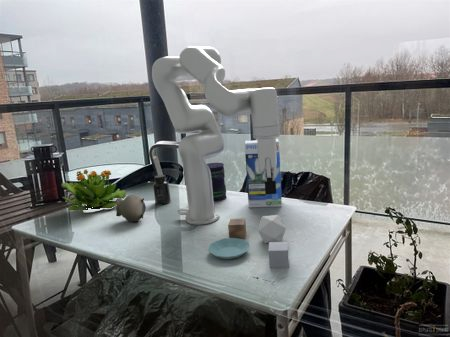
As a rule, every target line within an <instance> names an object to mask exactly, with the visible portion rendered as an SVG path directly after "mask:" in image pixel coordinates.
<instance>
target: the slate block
mask: <svg viewBox="0 0 450 337" xmlns="http://www.w3.org/2000/svg"><path fill="white" fill-rule="evenodd" d="M289 260H290V259H289V245H288V241H281V242H269V243H268V263H269V269H277V268H278V269H281V268H282V269H286V268H290V263H289Z"/></svg>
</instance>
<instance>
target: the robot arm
mask: <svg viewBox="0 0 450 337" xmlns="http://www.w3.org/2000/svg"><path fill="white" fill-rule="evenodd" d="M151 67H152V68H151V78H152V82H153V85H154V87H155V90H156V91H157V93H158V95H159V97H160V98H161V100H162V101H163V104H164V106H165V108H166V111H167V113H168V116H169V119H170V121H171V123H172V126H173V128H174V130H175V131H176V132H177V133H179V134H182V135H183V134H188V133H189V135H187V136H184V137H183V138H182V139H181V140H180V141H179V144H178V152H179V155H180V159H181V163H182V166H183V173H184V181H185V189H186V191H185V192H186V198H187V206H186V207H185V208H183V207H182V208H178V209H177V213H178V214H179V216H185V222H186V223H187V224H190V225H196V226H197V225H200V226H201V225H207V224H211V223H214V222H216V221H217V220H219V218H220V213H219V212H218V211H216V210H215V202H214V200H213V190H212V179H211V172H210V169H209V167H208V165H207V164H208V163H207V162H206V161H205V160H207V159H210V158H215V157H217V156H220V155H221V154H222V153H223V152H224V150H225V141H224V137H223V134H222V132H221V130H220V127H219V125H218V122H217V120H216V118H215V114H214V112H213V111H212V110H211V109H210V108H209V107H208V106H207V105H203V104H197V105H192V104H191V103H190V100H189V99H188V96H187V94H186V92H185V91H184V89H182V88H181V86H179V85H178V84H177V83H176V82H182V81H183V82H185V81H193V80H196V82H198V83H199V84H200V85H202V86H203V93H204V96H205V99H206V101H207V103H208V104H209V105H210V106H211V107H212V108H213V109H214V110H215V111H217V113H219V114H220V115H222V116H224V117H228V118H235V117H241V116H248V115H251V125H252V134H253V139H255V140H257V149H258V163H259V173H262V172H263V171H264V174H265V181H264V182H265V194H276V180H275V177H274V172H275V171H276V164H277V151H276V139H277V138H278V137H280V135H281V132H280V122H279V119H280V117H279V106H278V92H277V89H276V88H274V87H261V88H260V87H259V88H242V89H233V90H232V89H231V90H229V89H227V88H226V87H225V86H224V85H222V83H223V82H224V80H225V77H226V70H225V68H224V67H223V66H222V57H221V54H220V52H219V51H218V50H217V49H216V48H214V47H211V46H197V45H195V46H188V47H186V48H184V49H183V50H182V51H181V52H180V54H179V56H178V55H177V56H176V55H175V56H172V55H171V56H163V57H160V58H158V59H156V60H155V61H154V63H153V64H152V66H151ZM195 132H196V133H195ZM198 132H199V133H198ZM190 133H195V134H190Z"/></svg>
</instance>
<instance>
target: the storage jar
mask: <svg viewBox="0 0 450 337" xmlns="http://www.w3.org/2000/svg"><path fill="white" fill-rule="evenodd" d="M206 164H207V165H208V167H209V169H210V172H211V179H212V190H213V200H214V203H217V202H221V201H222V202H223V201H224V200H226V199H227V187H226V184H225V183H226V181H225V177H226V176H225V167H224V166H225V165H224V164H225V163H223V162H209V163H206Z"/></svg>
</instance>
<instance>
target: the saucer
mask: <svg viewBox="0 0 450 337" xmlns="http://www.w3.org/2000/svg"><path fill="white" fill-rule="evenodd" d="M249 248H250V244H249V243H248V241H246V240H245V239H238V238H229V237H227V238H221V239H218V240H215V241H213V242H212V243H211V244H210V245H209V246H208V252H209V253H210V254H212V255H213V256H214V257H217V258H219V259H223V260H233V259H236V258H239V257H241V256H242V255H245V253H246V252H248V250H249Z"/></svg>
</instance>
